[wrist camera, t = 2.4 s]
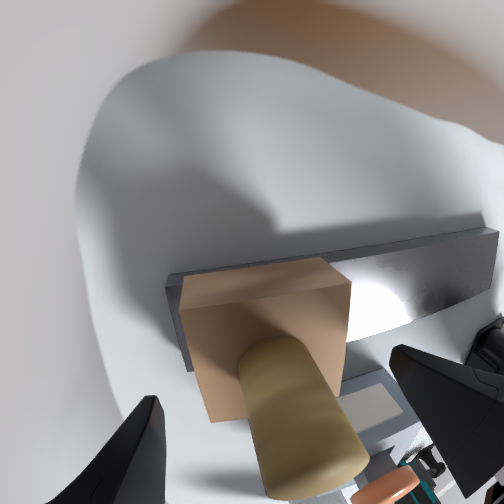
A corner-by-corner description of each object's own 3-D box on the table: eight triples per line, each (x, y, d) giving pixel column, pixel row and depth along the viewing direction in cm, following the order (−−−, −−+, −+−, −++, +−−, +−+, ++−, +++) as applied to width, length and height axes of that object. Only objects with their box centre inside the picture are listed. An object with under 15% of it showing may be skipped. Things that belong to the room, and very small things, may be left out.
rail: (486, 226, 16) (499, 231, 15) (478, 282, 18) (489, 288, 16) (168, 274, 13) (164, 286, 12) (188, 355, 15) (187, 372, 13)
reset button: (403, 434, 13) (429, 471, 9) (387, 463, 14) (406, 495, 10) (344, 460, 12) (367, 504, 8) (334, 484, 13) (351, 521, 10)
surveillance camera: (453, 499, 18) (407, 529, 16) (423, 456, 29) (378, 478, 28) (472, 483, 16) (425, 517, 15) (438, 438, 28) (391, 462, 26)
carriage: (319, 256, 12) (451, 366, 4) (317, 360, 14) (387, 479, 6) (184, 276, 11) (164, 446, 4) (207, 380, 13) (223, 524, 5)
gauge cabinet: (384, 364, 18) (427, 414, 12) (368, 420, 20) (397, 465, 14) (298, 390, 17) (328, 458, 11) (296, 443, 19) (317, 497, 13)
